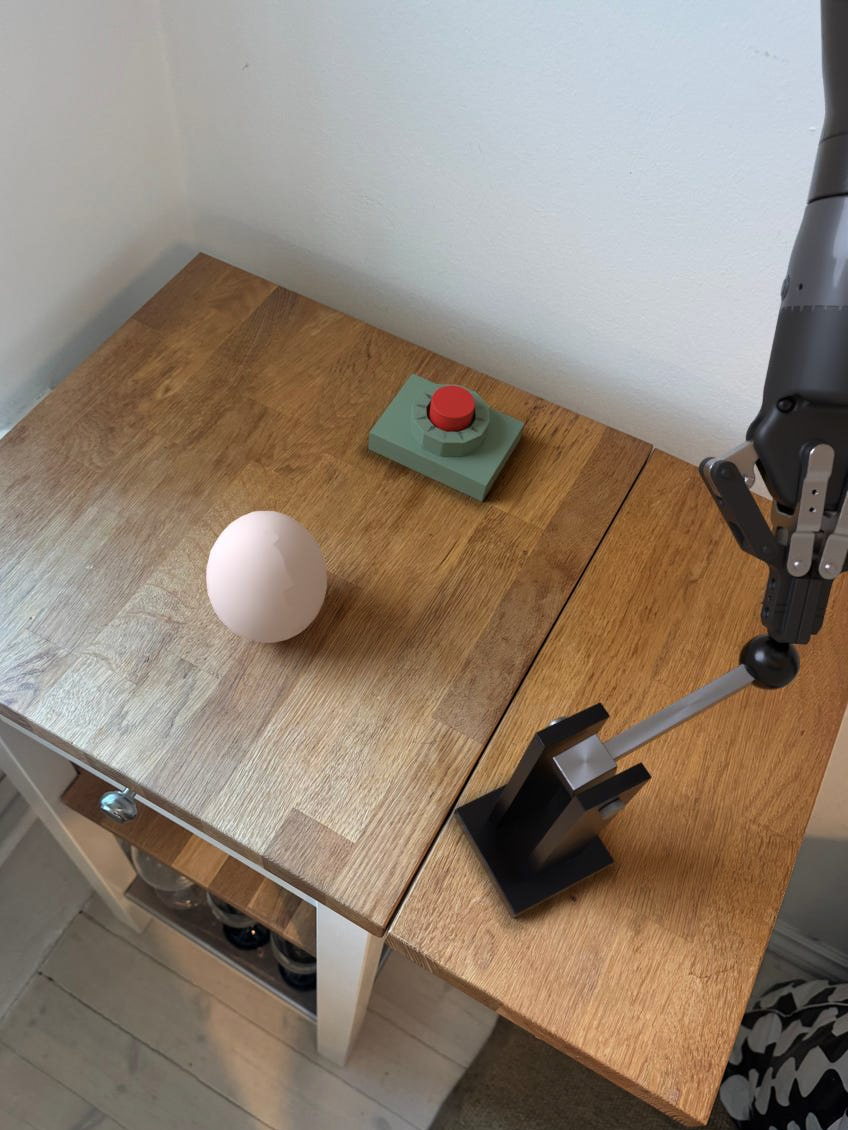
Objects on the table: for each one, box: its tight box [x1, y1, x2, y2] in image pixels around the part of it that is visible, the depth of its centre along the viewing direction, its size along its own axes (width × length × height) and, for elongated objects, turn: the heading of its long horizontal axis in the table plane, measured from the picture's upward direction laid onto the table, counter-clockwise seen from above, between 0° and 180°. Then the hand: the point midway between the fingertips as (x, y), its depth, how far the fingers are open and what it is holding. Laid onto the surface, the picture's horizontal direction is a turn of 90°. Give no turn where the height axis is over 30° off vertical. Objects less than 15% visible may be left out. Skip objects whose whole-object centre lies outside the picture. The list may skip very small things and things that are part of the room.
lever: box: [553, 633, 801, 799], centre depth 52 cm, size 15×3×3 cm, turn 117°
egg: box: [205, 510, 328, 644], centre depth 66 cm, size 9×9×11 cm
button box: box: [367, 373, 526, 503], centre depth 79 cm, size 8×11×4 cm
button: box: [429, 384, 475, 432], centre depth 77 cm, size 4×4×2 cm
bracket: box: [452, 701, 652, 919], centre depth 57 cm, size 8×8×16 cm
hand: (787, 639), depth 51 cm, fingers closed
